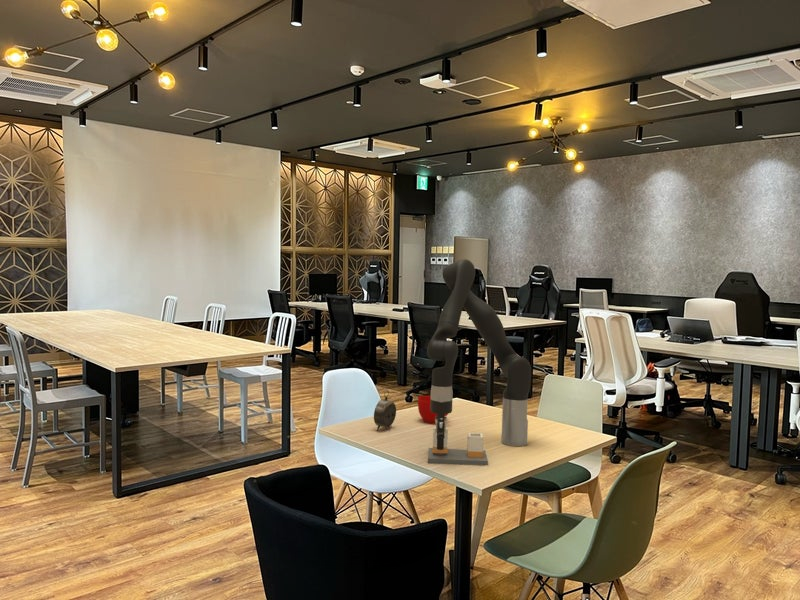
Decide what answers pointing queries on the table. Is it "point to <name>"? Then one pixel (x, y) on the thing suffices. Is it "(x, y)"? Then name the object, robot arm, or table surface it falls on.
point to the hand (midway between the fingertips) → (440, 446)
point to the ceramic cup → (426, 409)
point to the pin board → (462, 453)
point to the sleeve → (436, 441)
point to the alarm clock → (384, 413)
